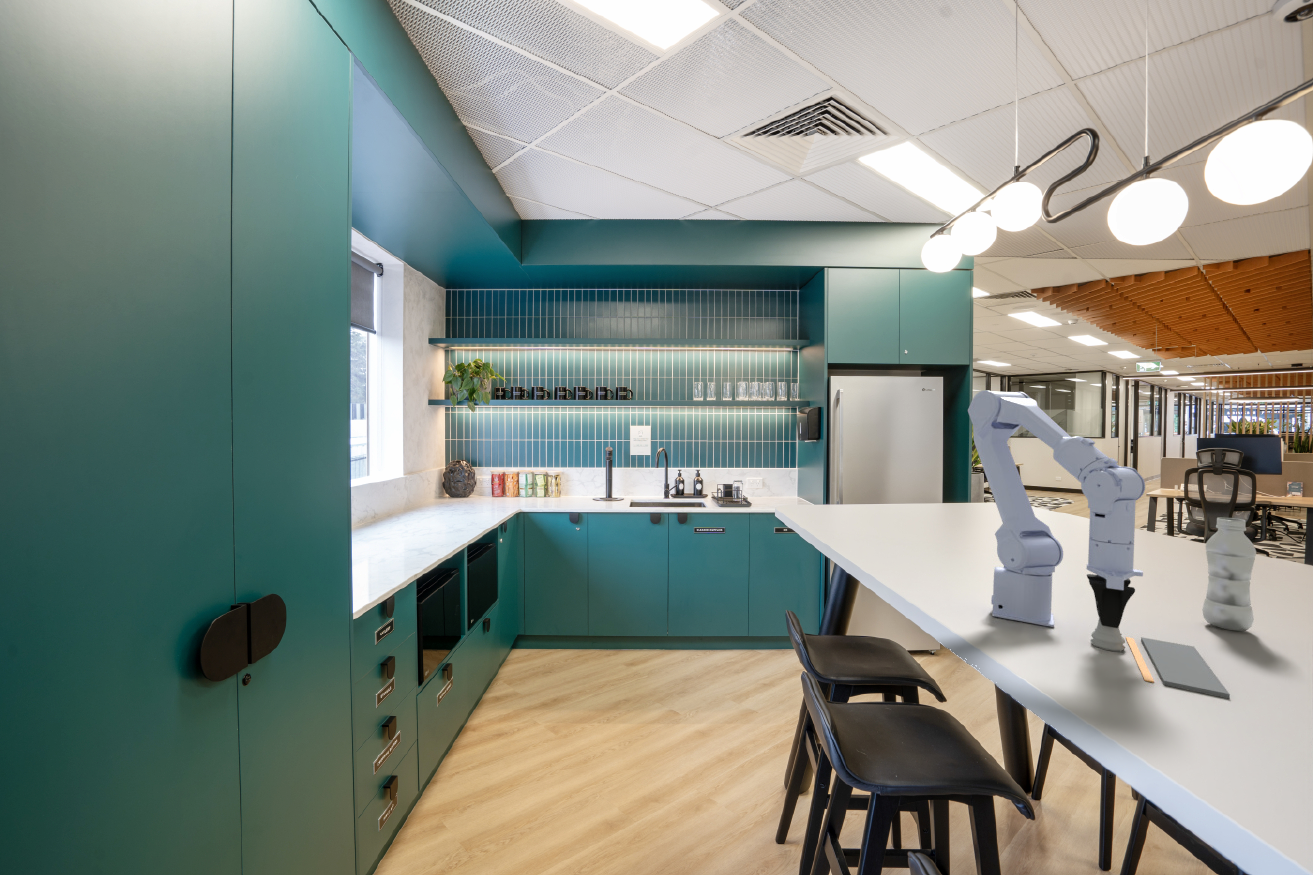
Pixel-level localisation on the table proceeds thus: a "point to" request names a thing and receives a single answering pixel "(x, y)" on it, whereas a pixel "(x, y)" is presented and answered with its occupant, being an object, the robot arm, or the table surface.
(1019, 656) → the table surface
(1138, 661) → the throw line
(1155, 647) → the mat
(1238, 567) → the plastic bottle
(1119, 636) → the rook chess piece
